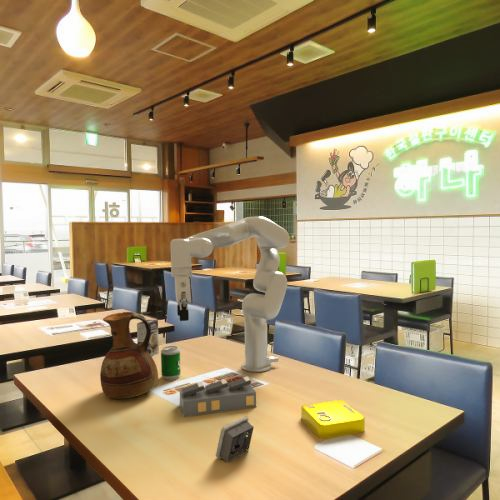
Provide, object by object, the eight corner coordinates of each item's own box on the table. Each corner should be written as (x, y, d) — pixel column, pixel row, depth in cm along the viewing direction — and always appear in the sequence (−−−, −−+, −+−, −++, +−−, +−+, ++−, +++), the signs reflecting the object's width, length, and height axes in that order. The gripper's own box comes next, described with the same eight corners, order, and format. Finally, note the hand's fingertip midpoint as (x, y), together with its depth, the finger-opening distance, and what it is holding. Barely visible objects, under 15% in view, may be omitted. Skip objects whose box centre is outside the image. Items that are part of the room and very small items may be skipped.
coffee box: (149, 358, 197) (148, 323, 196) (137, 357, 199) (136, 323, 198) (159, 352, 206) (158, 319, 205) (147, 351, 208) (146, 318, 207)
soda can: (176, 381, 166) (175, 351, 166) (158, 380, 168) (157, 350, 167) (183, 374, 174) (182, 345, 173) (166, 373, 175) (165, 345, 175)
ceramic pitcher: (99, 388, 160) (96, 309, 158) (153, 380, 168) (151, 305, 166) (103, 408, 142) (100, 319, 140) (163, 398, 150) (161, 314, 148)
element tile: (367, 433, 123) (367, 416, 123) (320, 441, 119) (320, 424, 118) (342, 411, 137) (342, 397, 137) (299, 418, 133) (299, 403, 133)
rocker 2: (225, 382, 145) (224, 378, 145) (228, 386, 141) (227, 382, 141) (206, 389, 143) (205, 385, 143) (208, 393, 139) (207, 389, 139)
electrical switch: (240, 445, 116) (242, 413, 115) (254, 453, 113) (256, 420, 112) (215, 459, 110) (216, 425, 109) (228, 468, 106) (230, 433, 105)
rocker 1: (202, 385, 143) (201, 381, 143) (204, 389, 139) (203, 385, 139) (182, 392, 141) (181, 388, 141) (183, 396, 137) (182, 392, 137)
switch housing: (247, 395, 151) (247, 380, 150) (256, 407, 141) (256, 390, 141) (179, 404, 144) (179, 388, 144) (184, 417, 134) (183, 400, 134)
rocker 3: (248, 379, 147) (247, 376, 147) (251, 383, 143) (250, 379, 143) (229, 386, 145) (228, 382, 145) (231, 390, 142) (230, 386, 141)
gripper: (194, 274, 149) (195, 322, 150) (189, 269, 166) (190, 312, 167) (172, 275, 148) (174, 323, 149) (169, 270, 164) (171, 314, 165)
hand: (183, 317), depth 158 cm, fingers open, 9 cm apart
